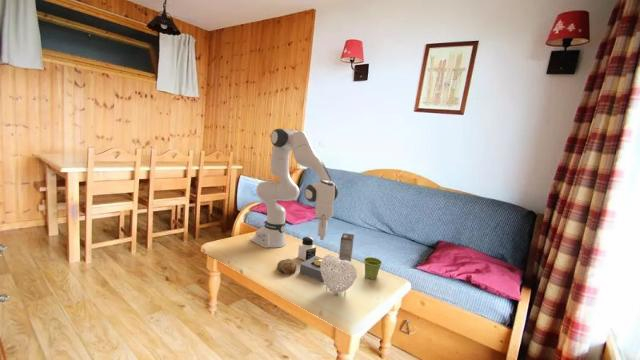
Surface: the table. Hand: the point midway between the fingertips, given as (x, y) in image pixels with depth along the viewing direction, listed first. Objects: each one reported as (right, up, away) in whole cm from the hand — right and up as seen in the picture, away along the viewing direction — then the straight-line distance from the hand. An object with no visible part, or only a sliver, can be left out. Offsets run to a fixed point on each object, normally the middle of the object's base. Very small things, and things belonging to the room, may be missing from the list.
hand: (321, 238), depth 159 cm
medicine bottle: (-9, -15, +20) cm, 27 cm away
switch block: (-2, -18, +3) cm, 18 cm away
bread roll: (-18, -17, +3) cm, 25 cm away
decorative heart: (+6, -22, -16) cm, 28 cm away
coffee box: (+13, -17, +18) cm, 28 cm away
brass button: (-1, -15, +3) cm, 15 cm away
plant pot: (+26, -21, +4) cm, 33 cm away
